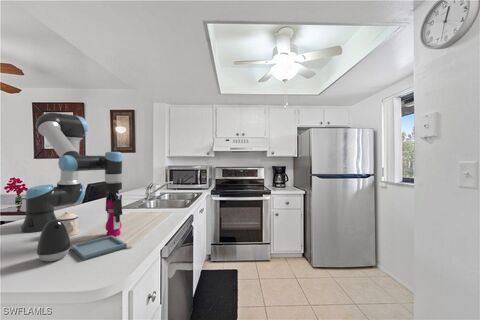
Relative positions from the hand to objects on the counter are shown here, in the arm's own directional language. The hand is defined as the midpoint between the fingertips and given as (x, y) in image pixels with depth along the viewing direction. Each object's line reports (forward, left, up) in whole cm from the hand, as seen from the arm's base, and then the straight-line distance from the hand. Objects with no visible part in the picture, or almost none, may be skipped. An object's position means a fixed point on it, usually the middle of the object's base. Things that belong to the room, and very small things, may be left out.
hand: (113, 226), depth 115 cm
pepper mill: (0, 0, -4) cm, 4 cm away
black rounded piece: (+11, -26, -4) cm, 28 cm away
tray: (+14, -11, -4) cm, 18 cm away
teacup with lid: (-17, -15, -4) cm, 23 cm away
